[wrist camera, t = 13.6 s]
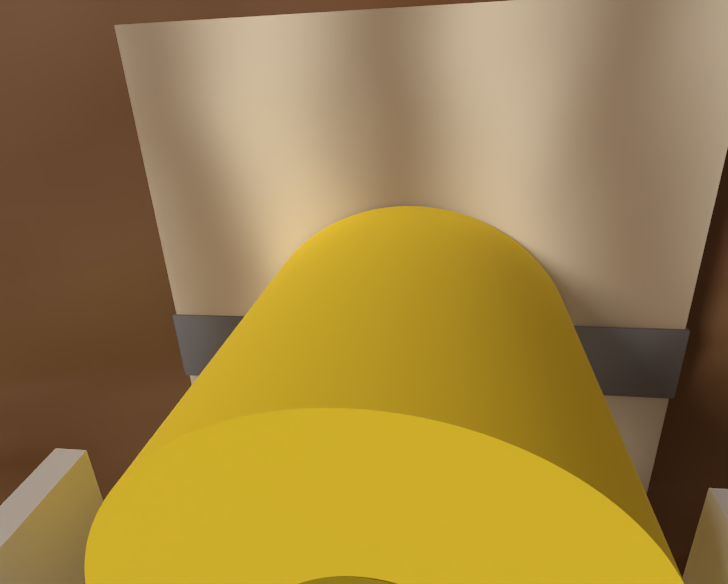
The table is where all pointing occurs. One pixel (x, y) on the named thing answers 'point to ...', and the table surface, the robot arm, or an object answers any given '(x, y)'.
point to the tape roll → (389, 431)
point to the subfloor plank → (448, 157)
